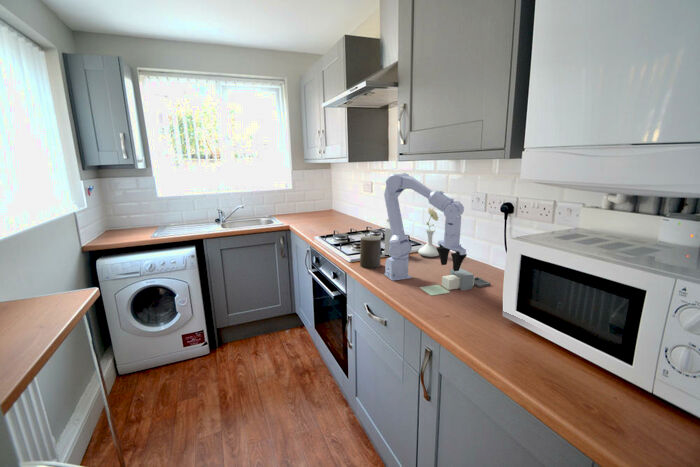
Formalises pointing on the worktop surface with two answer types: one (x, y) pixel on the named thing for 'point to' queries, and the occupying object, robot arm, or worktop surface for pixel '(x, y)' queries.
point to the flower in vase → (430, 239)
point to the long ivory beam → (452, 282)
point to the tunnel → (464, 278)
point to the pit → (480, 282)
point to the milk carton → (387, 237)
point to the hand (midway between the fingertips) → (449, 267)
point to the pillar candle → (370, 252)
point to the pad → (434, 290)
